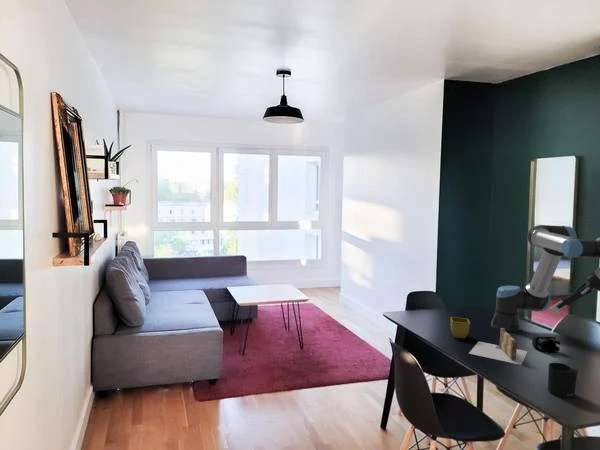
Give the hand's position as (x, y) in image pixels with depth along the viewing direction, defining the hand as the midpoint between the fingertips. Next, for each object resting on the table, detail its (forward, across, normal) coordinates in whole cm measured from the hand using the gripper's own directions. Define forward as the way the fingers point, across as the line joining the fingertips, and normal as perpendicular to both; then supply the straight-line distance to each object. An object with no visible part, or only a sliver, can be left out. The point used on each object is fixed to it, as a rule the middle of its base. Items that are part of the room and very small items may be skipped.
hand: (551, 311), depth 202 cm
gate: (+28, +4, -5) cm, 29 cm away
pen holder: (+12, -30, -22) cm, 39 cm away
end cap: (+19, +22, -16) cm, 33 cm away
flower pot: (+46, +16, +12) cm, 50 cm away
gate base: (+31, +3, -3) cm, 32 cm away
